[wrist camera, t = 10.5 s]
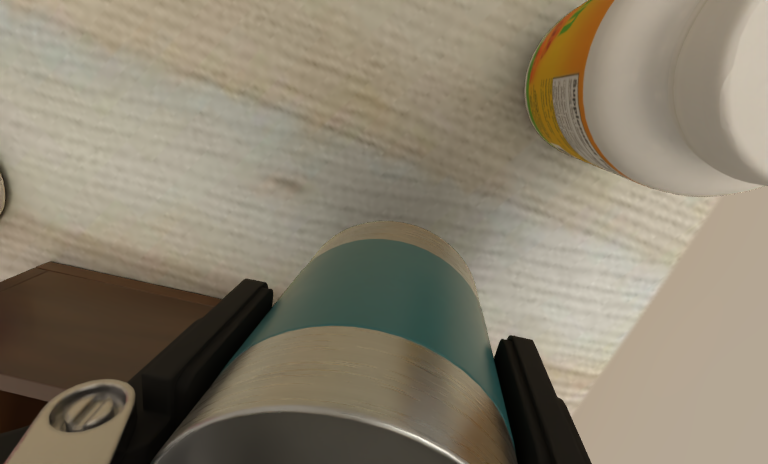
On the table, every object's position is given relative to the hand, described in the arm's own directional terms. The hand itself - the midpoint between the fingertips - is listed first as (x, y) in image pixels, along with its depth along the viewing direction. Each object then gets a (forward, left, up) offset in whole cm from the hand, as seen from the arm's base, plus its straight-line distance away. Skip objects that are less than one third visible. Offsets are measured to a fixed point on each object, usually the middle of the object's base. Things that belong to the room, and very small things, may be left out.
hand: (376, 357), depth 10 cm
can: (0, 0, -3) cm, 3 cm away
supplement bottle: (-8, +6, -8) cm, 13 cm away
